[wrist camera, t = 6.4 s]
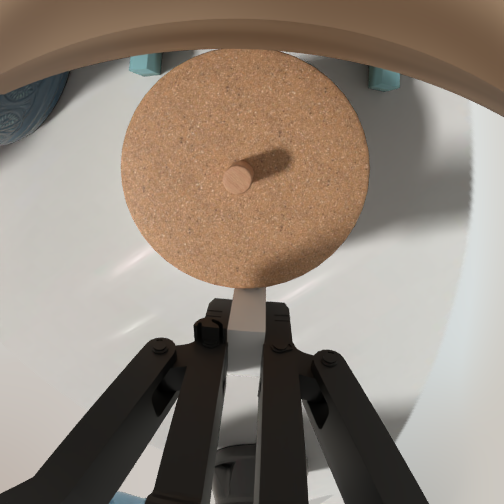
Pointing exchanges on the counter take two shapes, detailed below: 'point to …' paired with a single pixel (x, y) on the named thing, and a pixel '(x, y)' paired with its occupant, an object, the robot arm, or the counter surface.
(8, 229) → the counter surface
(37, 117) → the canister
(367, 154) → the lidded jar
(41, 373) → the counter surface
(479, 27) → the overhang shelf
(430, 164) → the counter surface
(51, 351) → the counter surface
